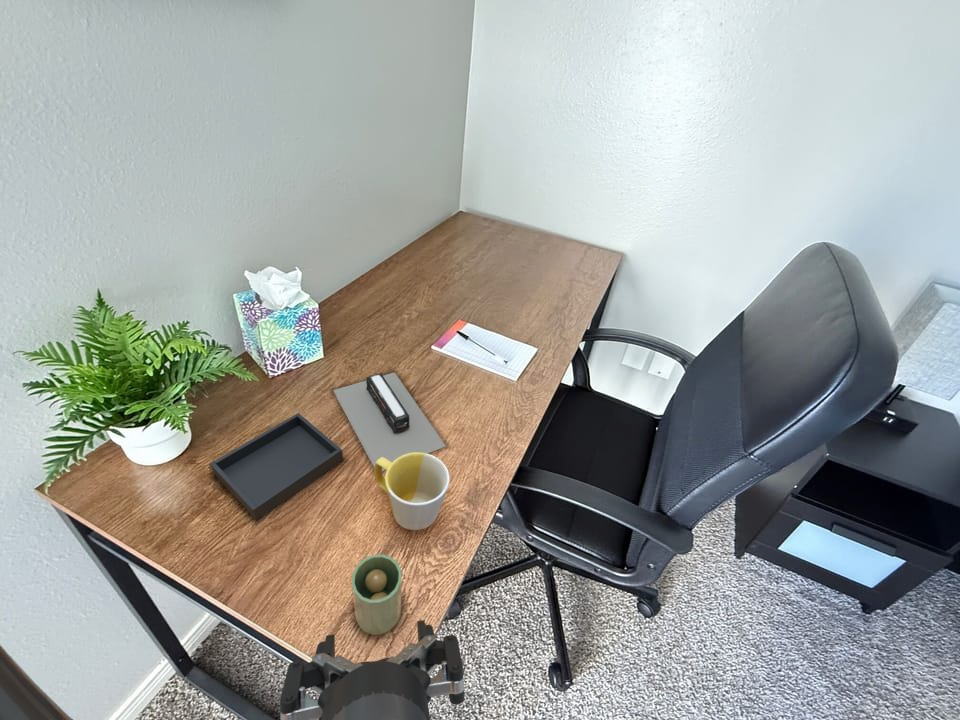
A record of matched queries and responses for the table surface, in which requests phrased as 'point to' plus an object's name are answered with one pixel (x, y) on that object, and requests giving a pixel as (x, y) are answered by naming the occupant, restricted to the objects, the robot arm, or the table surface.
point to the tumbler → (378, 612)
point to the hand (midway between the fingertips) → (376, 637)
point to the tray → (276, 464)
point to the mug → (414, 487)
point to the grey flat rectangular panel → (387, 418)
